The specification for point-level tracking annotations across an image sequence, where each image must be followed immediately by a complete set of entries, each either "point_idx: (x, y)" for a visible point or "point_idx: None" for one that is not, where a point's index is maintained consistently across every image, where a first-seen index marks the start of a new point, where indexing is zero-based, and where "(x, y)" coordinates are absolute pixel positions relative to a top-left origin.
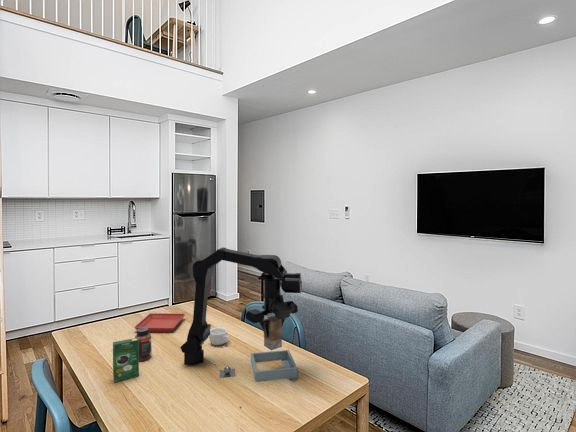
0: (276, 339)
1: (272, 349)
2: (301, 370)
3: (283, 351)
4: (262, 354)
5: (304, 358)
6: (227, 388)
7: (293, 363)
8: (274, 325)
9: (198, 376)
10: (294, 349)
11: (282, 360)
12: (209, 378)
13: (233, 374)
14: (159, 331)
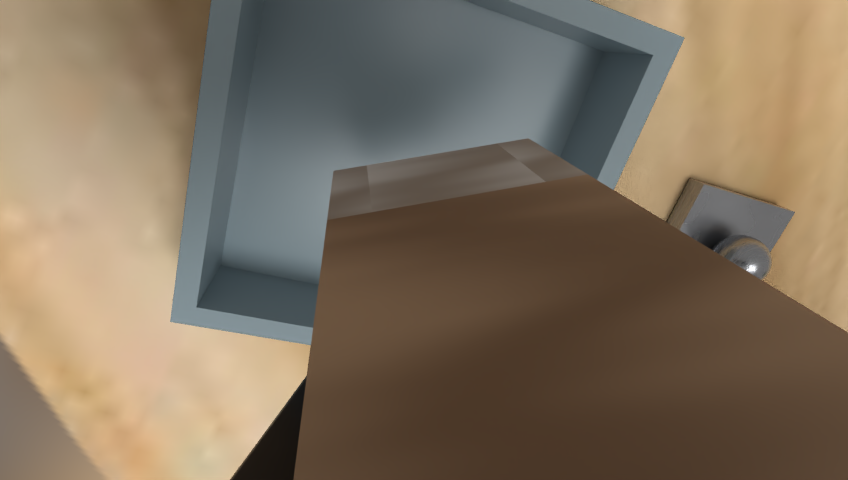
0: (463, 202)
1: (507, 144)
2: (151, 49)
3: (236, 313)
4: None
5: (44, 241)
6: (800, 87)
7: (233, 10)
8: (745, 446)
9: (830, 307)
10: (90, 403)
11: (266, 267)
12: (801, 260)
13: (701, 216)
14: None
